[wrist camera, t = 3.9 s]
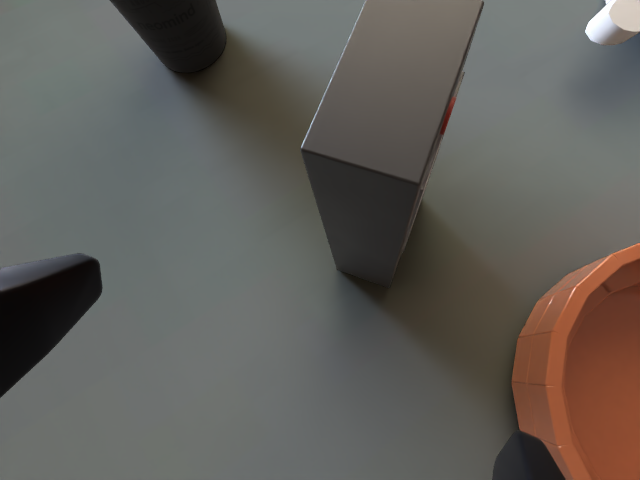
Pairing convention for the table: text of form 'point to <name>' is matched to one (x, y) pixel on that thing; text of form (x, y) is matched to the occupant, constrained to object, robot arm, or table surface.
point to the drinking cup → (178, 30)
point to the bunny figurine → (615, 22)
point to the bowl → (585, 370)
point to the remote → (385, 127)
